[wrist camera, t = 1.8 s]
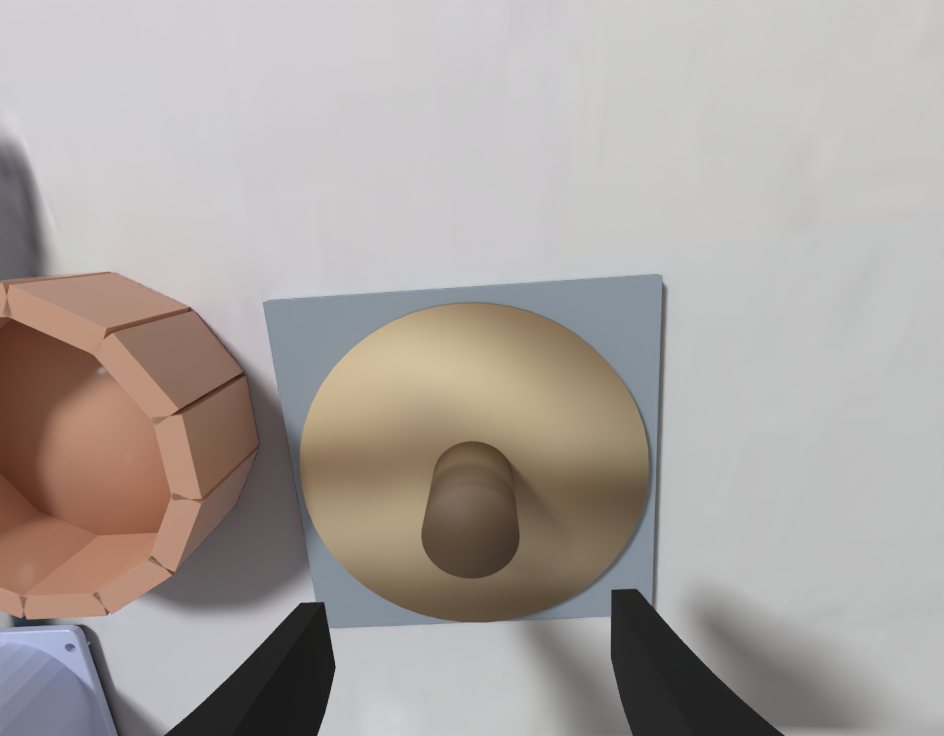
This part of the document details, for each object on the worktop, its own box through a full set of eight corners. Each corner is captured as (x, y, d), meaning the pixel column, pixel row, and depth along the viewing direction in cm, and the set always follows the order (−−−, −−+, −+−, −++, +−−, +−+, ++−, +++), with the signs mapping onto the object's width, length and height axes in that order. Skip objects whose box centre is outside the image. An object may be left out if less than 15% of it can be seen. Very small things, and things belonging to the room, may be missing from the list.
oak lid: (641, 605, 22) (680, 699, 18) (330, 618, 23) (293, 712, 18) (647, 289, 19) (699, 307, 14) (277, 314, 19) (215, 339, 15)
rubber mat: (647, 604, 23) (651, 614, 22) (325, 618, 23) (320, 628, 23) (656, 274, 19) (662, 275, 18) (268, 300, 19) (262, 302, 19)
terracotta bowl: (277, 536, 22) (227, 610, 18) (18, 549, 23) (-91, 624, 18) (224, 263, 19) (148, 273, 15) (-76, 284, 20) (-235, 299, 15)
